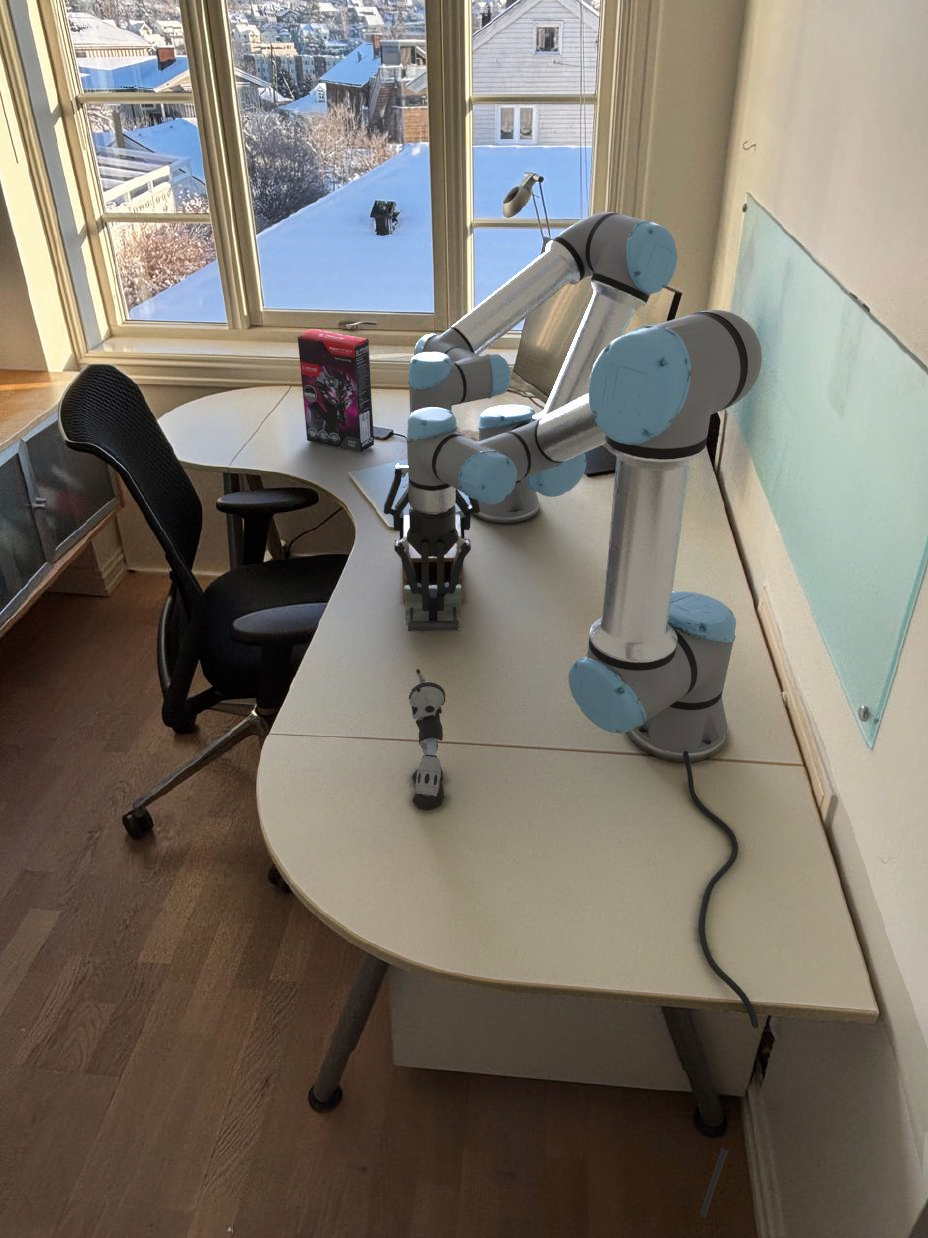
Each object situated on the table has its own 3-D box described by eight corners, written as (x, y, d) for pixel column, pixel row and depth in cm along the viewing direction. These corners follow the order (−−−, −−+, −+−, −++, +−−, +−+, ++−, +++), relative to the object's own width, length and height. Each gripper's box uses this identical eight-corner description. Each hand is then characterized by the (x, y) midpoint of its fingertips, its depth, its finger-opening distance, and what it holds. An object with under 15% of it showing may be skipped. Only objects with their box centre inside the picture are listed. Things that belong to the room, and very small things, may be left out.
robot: (448, 840, 124) (447, 726, 113) (411, 841, 124) (407, 727, 112) (443, 742, 140) (442, 634, 129) (411, 743, 140) (408, 635, 129)
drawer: (462, 645, 160) (462, 607, 156) (405, 646, 160) (403, 608, 155) (458, 579, 178) (458, 543, 174) (407, 579, 178) (406, 544, 174)
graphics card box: (304, 441, 235) (294, 334, 220) (320, 432, 240) (311, 327, 225) (361, 455, 228) (354, 345, 213) (376, 445, 233) (371, 337, 218)
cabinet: (462, 602, 173) (462, 557, 168) (403, 602, 173) (402, 558, 167) (459, 557, 187) (459, 514, 182) (405, 557, 187) (403, 515, 181)
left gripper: (493, 431, 173) (490, 534, 185) (368, 431, 172) (373, 535, 184) (496, 447, 167) (492, 552, 179) (365, 448, 166) (371, 553, 178)
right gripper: (472, 493, 151) (469, 612, 165) (392, 493, 151) (396, 613, 164) (473, 515, 145) (471, 637, 158) (390, 515, 145) (395, 637, 158)
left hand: (432, 543), depth 182 cm, fingers closed on cabinet, 11 cm apart
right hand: (433, 624), depth 161 cm, fingers closed
